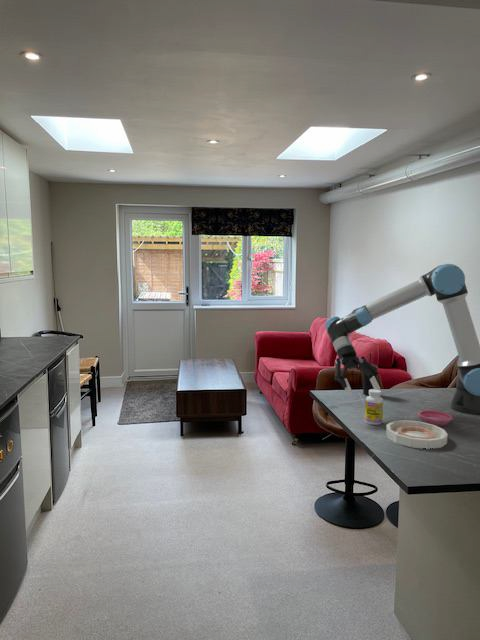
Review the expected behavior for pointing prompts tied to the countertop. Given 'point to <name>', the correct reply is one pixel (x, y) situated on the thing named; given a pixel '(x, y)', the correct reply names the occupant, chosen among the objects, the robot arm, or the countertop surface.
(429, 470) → the countertop surface
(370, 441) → the countertop surface
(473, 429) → the countertop surface
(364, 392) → the drinking cup
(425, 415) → the saucer
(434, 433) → the ceramic tray
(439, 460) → the countertop surface
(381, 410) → the supplement bottle
